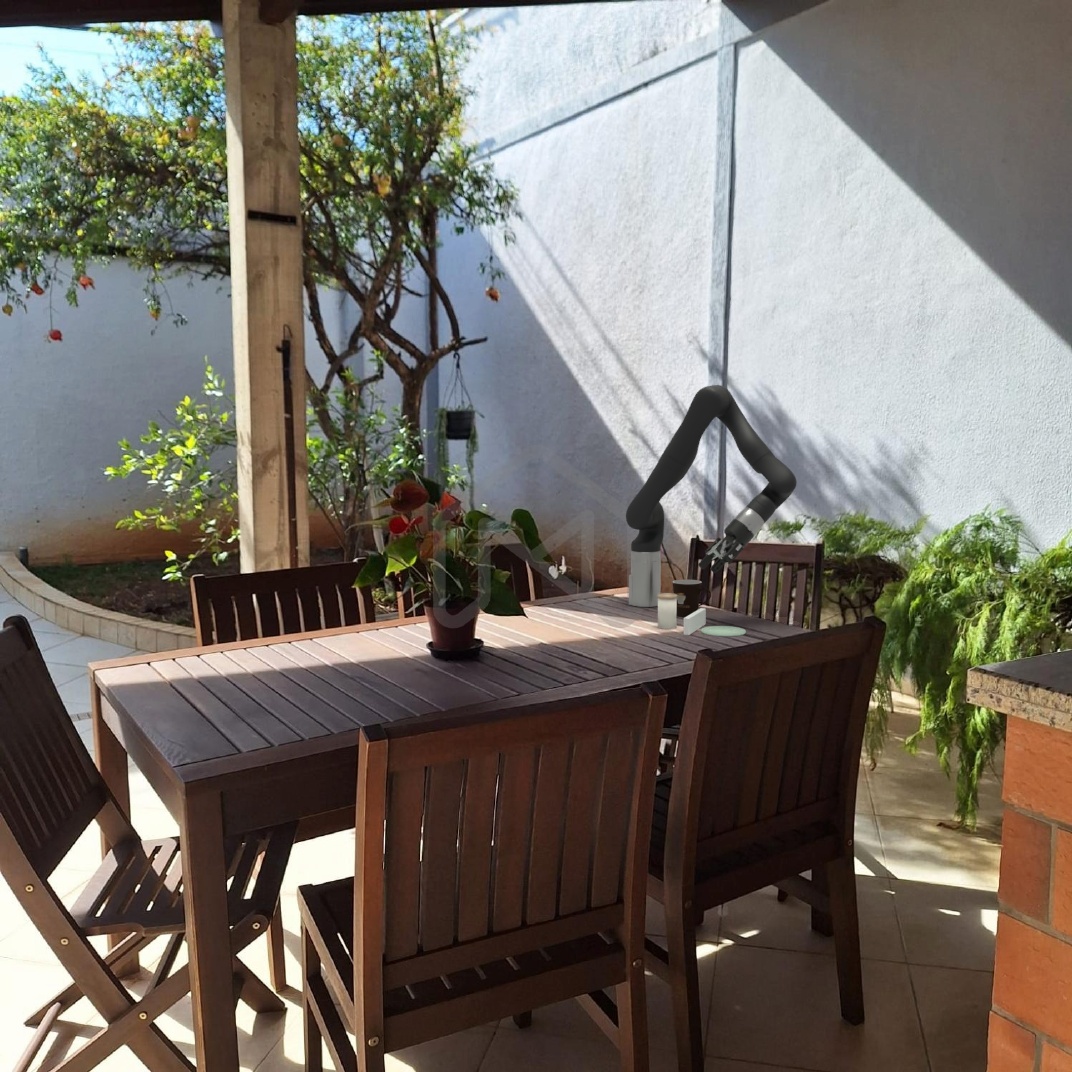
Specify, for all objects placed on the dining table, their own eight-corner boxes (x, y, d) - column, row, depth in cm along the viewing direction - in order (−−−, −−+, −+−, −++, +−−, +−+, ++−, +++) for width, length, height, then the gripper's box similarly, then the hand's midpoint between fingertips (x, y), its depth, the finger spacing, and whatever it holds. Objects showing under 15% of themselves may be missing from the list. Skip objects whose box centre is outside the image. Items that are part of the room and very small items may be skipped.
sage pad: (695, 634, 260) (695, 632, 260) (707, 625, 271) (707, 624, 271) (739, 638, 255) (739, 636, 255) (750, 629, 266) (750, 627, 266)
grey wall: (683, 634, 260) (683, 618, 259) (700, 623, 274) (700, 608, 274) (688, 635, 259) (689, 618, 259) (705, 624, 273) (705, 608, 273)
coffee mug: (666, 613, 289) (666, 580, 288) (690, 611, 293) (690, 578, 292) (688, 620, 279) (688, 586, 278) (713, 618, 282) (713, 584, 281)
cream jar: (654, 628, 269) (654, 595, 268) (660, 624, 274) (661, 592, 273) (673, 629, 266) (673, 596, 265) (679, 626, 271) (679, 593, 270)
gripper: (725, 516, 278) (688, 557, 277) (746, 520, 264) (707, 563, 263) (742, 533, 280) (705, 574, 279) (764, 538, 266) (725, 581, 265)
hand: (706, 569), depth 271 cm, fingers open, 8 cm apart
